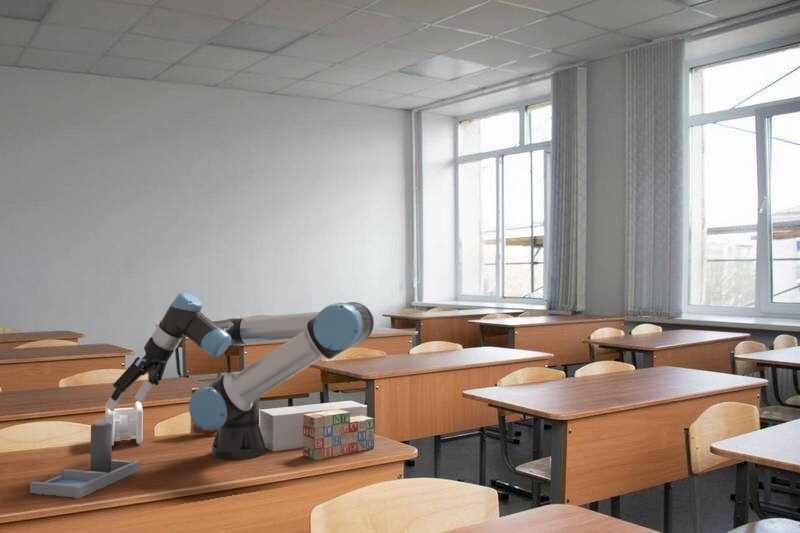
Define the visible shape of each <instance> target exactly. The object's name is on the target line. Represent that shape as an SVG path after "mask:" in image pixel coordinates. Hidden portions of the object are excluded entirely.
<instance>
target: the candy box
mask: <svg viewBox="0 0 800 533" xmlns="http://www.w3.org/2000/svg"><path fill="white" fill-rule="evenodd" d="M199 388H200V387H196V386H195V387H192V388H191V390H190V397H191V396H192V394H193V393H194V392H195V391H196V390H198V389H199ZM217 430H218V429H213V430H205V429H203V428H200V427H199V426H197V425H196V424H195V423H194V421H193V420H192V418H191V417H190V432H189V435H190V437H196V436H195V435H202V436H201V437H205V436H204V435H208V436H209V437H210V435H211V437H212V436H214V437H215V436H216V433H217ZM193 435H194V436H193ZM208 436H207V437H208Z"/></svg>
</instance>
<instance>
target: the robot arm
mask: <svg viewBox="0 0 800 533" xmlns="http://www.w3.org/2000/svg"><path fill="white" fill-rule="evenodd" d="M202 308H203V303H202V302H201V300H200V299H199V298H198V297H196V296H195V295H193V294H191V293H187V292H181V293H180V292H179V293H178V294H177V296H176V297H175V299H174V300H173V301H172V302H171V303H170V305H169V307H168V308H167V310H166V312H165V314H164V315H163V317H162V319H161V320H160V322H159V323H158V324H156V327H155V330H154V331H153V333H152V334H151V336H150V337H149V339H148V340H147V342H146V344H145V345H144V346H143V349H144V352H145V354H144V356H143V357H142V358H140V356H137V357H136V358H135V360H134V361H133V362H132V363H131V365H129V366H128V368H127V369H126V370H125V371H124V372H123V373H122V374H121V375H120V376H119V378H117V380H115V381H114V383H113V384H112V387H114V388H115V389H114V390H113V392H112V394H111V395H110V397H109V398H108V399H107V401H106V403H105V404H104V406H106V407H107V408H108V409H109V410H111V411H114V410H115V409H117V406H119V403H120V402H121V401H122V398H123V397H124V396H125V394H126V391H127V389H128V388H129V387H130V386H131V385H132V384H134V383H135V382H136V381H137V380H138V379H139V378H141V377H142V376H146V375H147V379H144V381H143V383H142V384H141V386H140V387H139V389H138V391H137V392H136V393H135V395H134V399H136V401H139V402H140V403H141V404H142V403H143V402H144V401H145V399H146V398H147V396H148V395H149V393H150V391H151V390H152V388H153V387H154V385H155V386H158V385H159V384H160V381H162V379H163V376H164V373H165V369H166V366H167V364H168V362H169V361H170V358H171V356H172V355H173V354H174V353H175V349H177V347H178V346H179V345H180V343H181V341H182V339H183V338H184V336H185V337H186V338H187V339H189V340H190V341H192V343H194V344H195V345H196V346H198V347H199V348H201V350H202V351H203V352H205V353H206V354H208V355H209V356H211V357H213V358H218V357H220V356H221V355H222V354H224V353H225V352H226V351H227V350H228V348H229V347H230V346H236V345H247V344H258V343H274V342H284V343H283V344H281V345H280V346H278V347H277V348H275V349H273V350H271V351H270V352H269V353H267V354H265V355H264V356H262V357H261V358H259V359H258V360H256V361H255V362H253V363H251V364H249V365H248V366H246V367H245V368H244V369H242V370H241V371H239V372H237V373H233V372H227V373H221V374H219V377H218V379H216V380H214V381H213V382H211V383H209V384H208V385H203V386H200V387H198V388H199V389H198V390H196V391H195V392H194V393H193V394H192V396H191V395H190V399H189V403H188V412H189V415H190V419H191V418H192V420H193V421H194V423H195V424H196V425H197V426H199V427H200V428H203V429H205V430H213V429H218V430H217V433H216V436H214V440H213V442H212V445H211V455H212V457H214V458H217V459H220V460H221V459H222V460H246V459H253V458H258V457H259V456H263V455H264V454H265V453H266V447H265V443H264V440H263V437H262V434H261V430H260V397H262V396H263V395H265V394H267V393H268V392H270V391H271V390H273V389H274V388H276V387H277V386H280V385H281V384H282V383H283V382H285V381H288V380H289V379H290V378H292V377H294V376H295V375H297V374H298V373H300V372H301V371H303V370H305V369H306V368H309V366H311V365H313V364H314V363H316V362H318V361H319V360H321V359H322V358H323V359H326V360H332V359H333V358H335V357H337V356H338V355H339V354H341V353H343V352H345V351H346V350H348V349H350V348H351V347H353V346H356V345H358V344H361V343H363V342H365V341H367V339H368V338H369V337H370V336H371V334H372V332H373V330H374V325H375V322H374V321H375V320H374V315H373V314H372V311H371V310H370V309H369V308H368V307H367V306H366V305H364V304H363V303H360V302H357V301H350V302H349V301H348V302H336V303H332V304H329V305H327V306H325V307H324V308H323V309H321V310H319V311H313V312H311V311H310V312H302V313H301V312H299V313H298V312H297V313H291V314H290V313H288V314H286V313H285V314H277V315H265V316H264V315H263V316H252V317H244V318H243V317H241V318H227V319H221V320H214V321H213V320H211V319H210V318H208V317H207V316H205V314H204V313H202V312H201V311H202Z"/></svg>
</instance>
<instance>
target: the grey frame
mask: <svg viewBox="0 0 800 533" xmlns="http://www.w3.org/2000/svg"><path fill="white" fill-rule="evenodd" d="M140 471H141V461H140V460H135V461H134V460H120V459H111V472H109V473H107V472H95V471H90V470H81V469H70V468H68V469H67V468H65V469H63V470H62V473H61V474H62V475H61V474H60V475H58V476H56V477H52V478H50V479H48V480H45V481H35V480H34V481H32V482H30V483H29V484H30V488H29V490H30V492H29V493H30V494H31V493H35V494H34V495H42V494H44V495H43V496H53V495H56V496H55V497H65V498H66V497H68V498H74V499H81V498H83V497H86V496H87V495H90V494H92V493H94V492H96V490H97V491H98V490H100V489H103V488H106V487H107V486H110V485H111V484H114V483H116V482H118V481H121V480H122V479H125V478H126V477H129V476H132V475H133V474H136V473H139V472H140ZM109 484H110V485H109Z"/></svg>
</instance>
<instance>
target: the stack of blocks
mask: <svg viewBox="0 0 800 533" xmlns="http://www.w3.org/2000/svg"><path fill="white" fill-rule="evenodd" d="M303 423H304V425H303V447H302V453H303V454H302V456H303V457H306V458H308V459H311V460H314V461H317V460H322V459H329V458H333V456H334V457H338V455H340V456H343V455H342V454H344V455H348V454H347V453H349V454H353V453H352V452H354V453H357V452H356V451H359V452H362V451H361V450H364V451H367V450H366V449H369V450H372V449H371V448H374V449H375V418H374V417H370V416H367V417H366V416H362V415H361V416H355V417H350V412H347V411H343V410H339V409H335V410H328V411H322V412H316V413H309V414H304V415H303Z"/></svg>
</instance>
